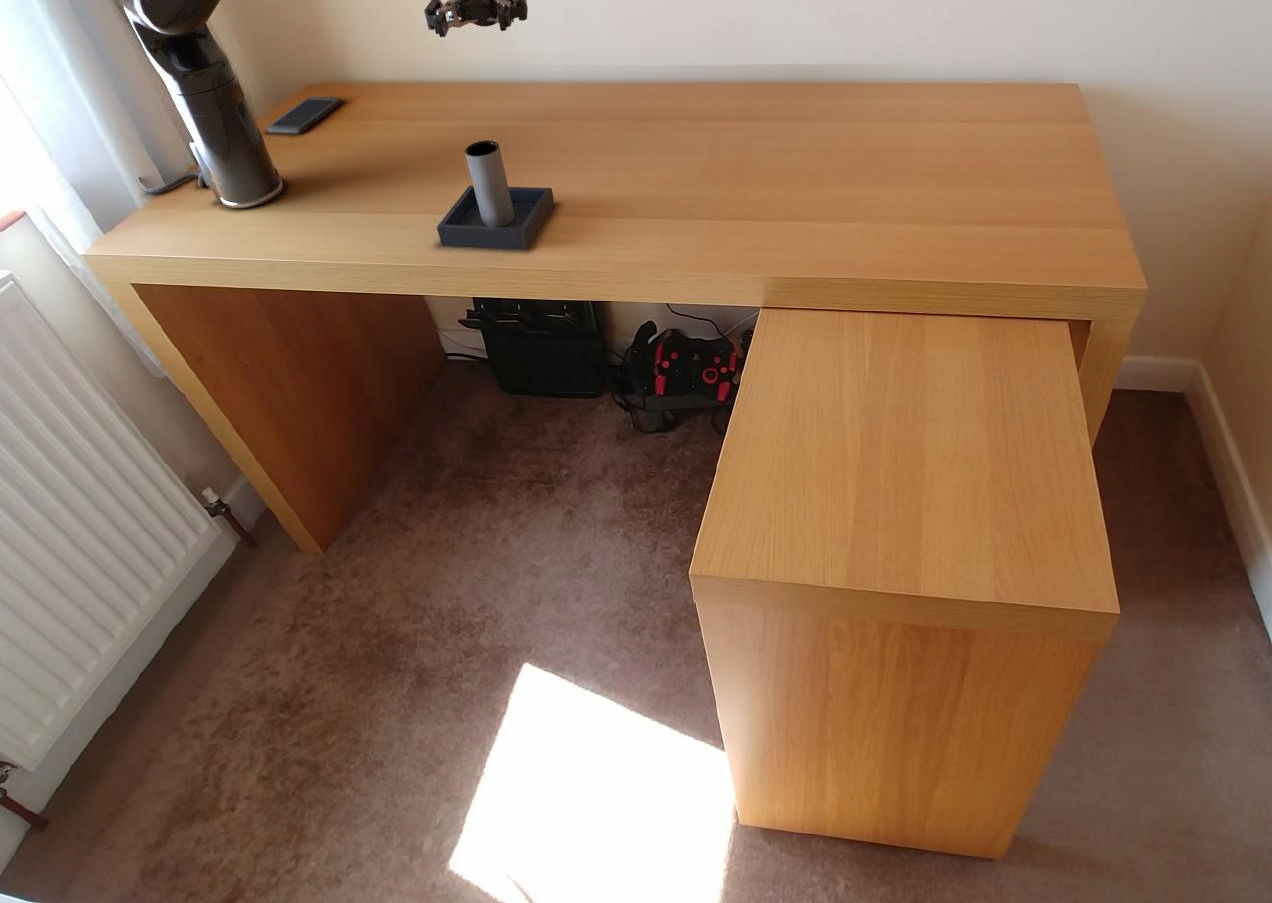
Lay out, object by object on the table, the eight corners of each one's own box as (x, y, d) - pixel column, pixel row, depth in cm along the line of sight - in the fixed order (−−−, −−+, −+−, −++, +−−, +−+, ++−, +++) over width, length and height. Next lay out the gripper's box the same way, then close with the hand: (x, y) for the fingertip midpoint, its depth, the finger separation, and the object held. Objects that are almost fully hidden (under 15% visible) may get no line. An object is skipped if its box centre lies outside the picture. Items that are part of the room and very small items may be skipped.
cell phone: (343, 101, 154) (342, 97, 153) (300, 134, 144) (298, 130, 144) (310, 100, 156) (309, 96, 155) (266, 132, 147) (264, 128, 146)
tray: (441, 245, 113) (436, 227, 111) (473, 203, 121) (469, 185, 119) (527, 249, 110) (523, 230, 108) (554, 206, 118) (551, 187, 116)
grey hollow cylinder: (521, 218, 114) (505, 146, 107) (494, 231, 112) (477, 159, 105) (502, 207, 117) (486, 137, 110) (476, 220, 115) (457, 149, 108)
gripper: (432, -33, 122) (412, 2, 111) (527, -43, 122) (517, -9, 110) (445, 22, 128) (427, 60, 116) (536, 12, 127) (527, 50, 115)
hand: (471, 26), depth 113 cm, fingers open, 8 cm apart
